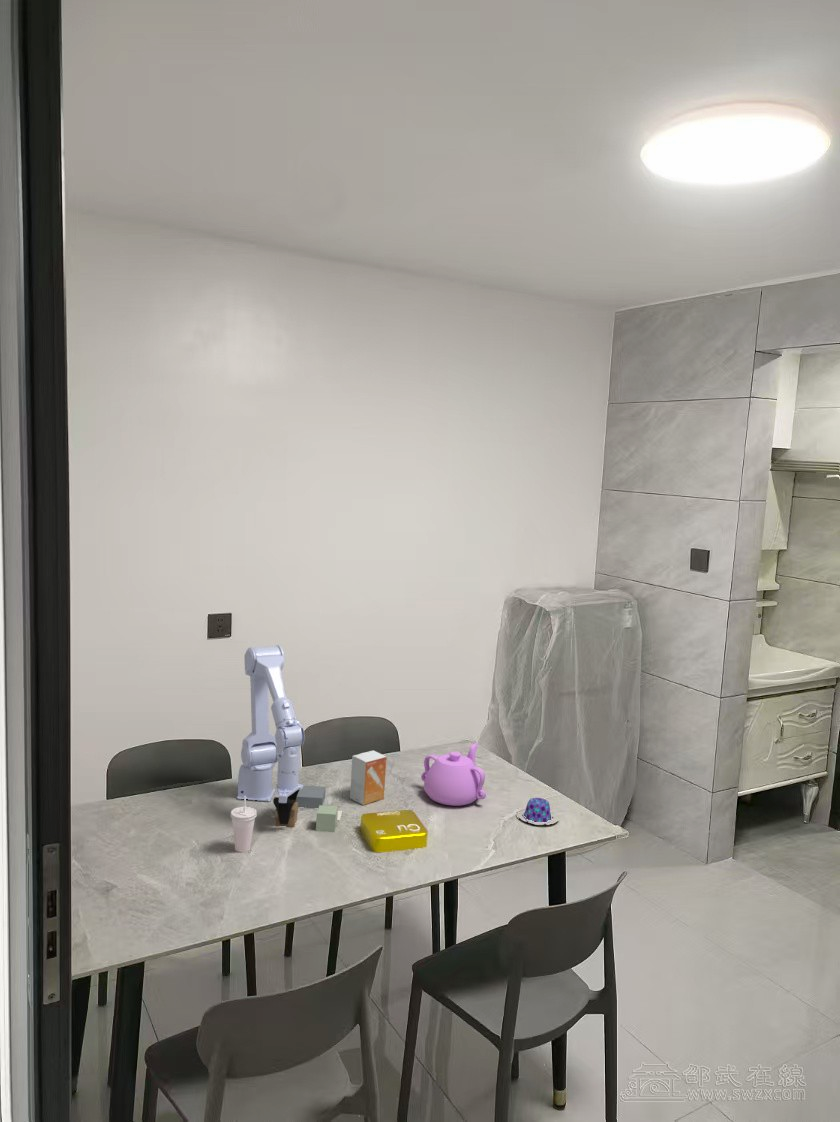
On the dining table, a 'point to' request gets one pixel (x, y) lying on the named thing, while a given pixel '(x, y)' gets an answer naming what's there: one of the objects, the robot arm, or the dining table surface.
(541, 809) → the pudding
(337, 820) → the card
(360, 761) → the small box
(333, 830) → the sage cube
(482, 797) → the teapot
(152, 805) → the dining table surface
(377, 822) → the element tile
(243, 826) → the smoothie
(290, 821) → the walnut cube
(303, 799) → the slate block
